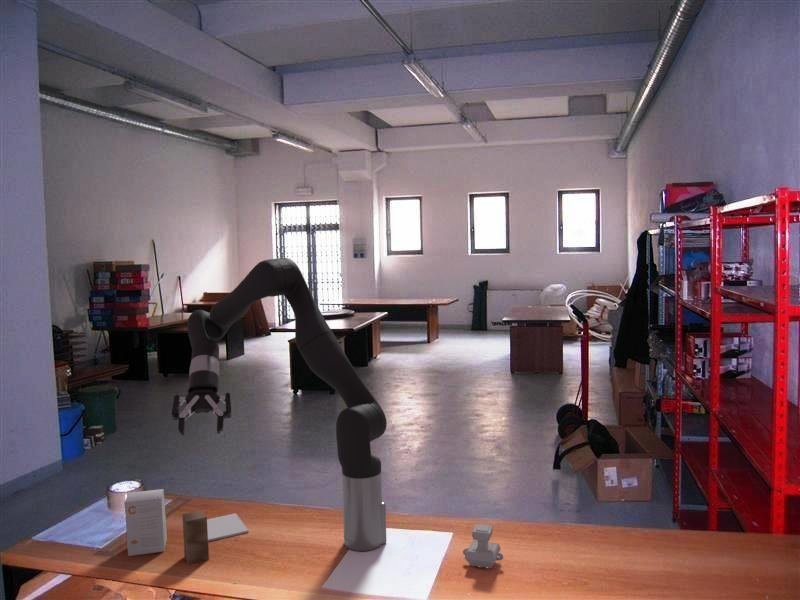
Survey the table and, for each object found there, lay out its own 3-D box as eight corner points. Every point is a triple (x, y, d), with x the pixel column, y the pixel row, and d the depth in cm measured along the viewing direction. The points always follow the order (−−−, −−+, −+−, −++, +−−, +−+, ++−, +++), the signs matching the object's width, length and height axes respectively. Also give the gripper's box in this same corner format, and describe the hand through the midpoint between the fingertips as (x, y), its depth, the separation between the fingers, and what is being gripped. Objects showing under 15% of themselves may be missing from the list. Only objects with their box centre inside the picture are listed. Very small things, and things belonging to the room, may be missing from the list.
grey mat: (235, 515, 173) (235, 513, 173) (248, 532, 163) (248, 530, 163) (189, 525, 167) (188, 523, 167) (199, 543, 157) (199, 541, 157)
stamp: (505, 560, 146) (505, 523, 145) (500, 574, 140) (500, 536, 139) (466, 554, 149) (465, 518, 148) (459, 568, 142) (458, 531, 142)
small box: (167, 540, 159) (164, 488, 158) (164, 552, 153) (161, 498, 152) (131, 544, 157) (128, 492, 156) (127, 557, 151) (124, 502, 150)
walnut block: (204, 551, 153) (202, 510, 152) (208, 559, 149) (206, 517, 148) (184, 556, 151) (182, 514, 150) (188, 564, 147) (186, 521, 146)
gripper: (173, 369, 167) (168, 427, 157) (231, 368, 170) (229, 424, 160) (177, 385, 173) (172, 441, 163) (233, 383, 176) (231, 438, 166)
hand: (200, 433), depth 162 cm, fingers open, 8 cm apart
